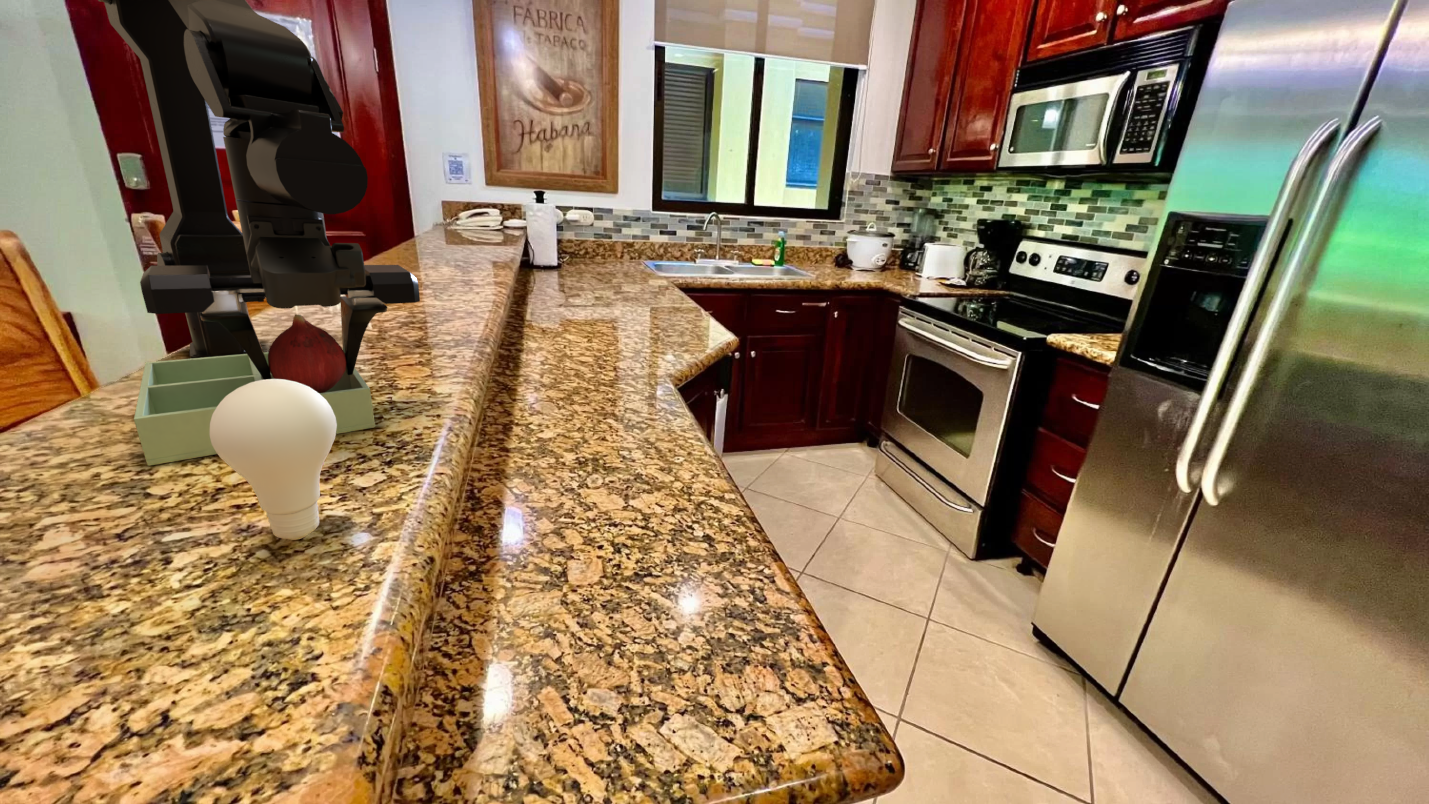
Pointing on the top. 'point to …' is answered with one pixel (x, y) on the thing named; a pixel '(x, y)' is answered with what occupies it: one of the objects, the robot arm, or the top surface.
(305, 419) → the lightbulb
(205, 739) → the top surface
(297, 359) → the onion
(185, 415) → the divided tray
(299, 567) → the top surface
